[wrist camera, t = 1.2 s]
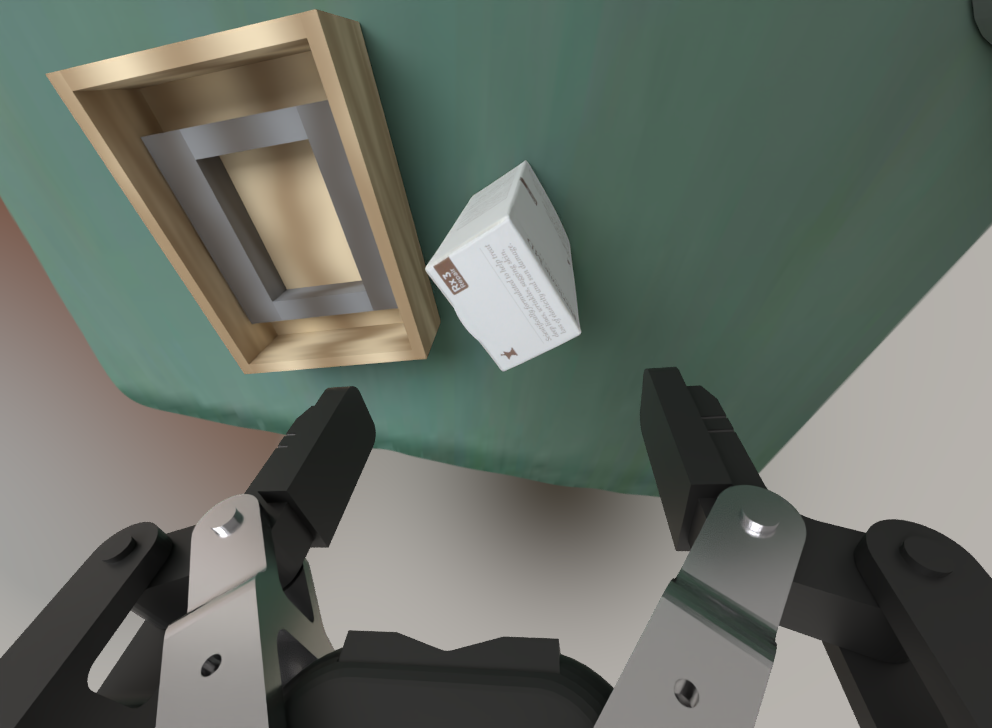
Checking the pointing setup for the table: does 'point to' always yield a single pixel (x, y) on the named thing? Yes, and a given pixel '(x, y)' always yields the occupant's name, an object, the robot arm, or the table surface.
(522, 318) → the skincare box
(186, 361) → the table surface
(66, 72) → the crate
